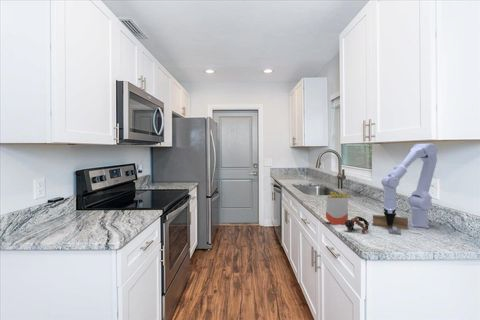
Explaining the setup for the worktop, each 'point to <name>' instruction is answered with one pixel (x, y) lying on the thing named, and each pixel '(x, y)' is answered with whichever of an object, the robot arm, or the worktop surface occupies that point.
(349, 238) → the worktop surface
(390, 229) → the fulcrum
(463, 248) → the worktop surface
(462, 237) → the worktop surface
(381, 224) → the batten
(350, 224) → the dark brown curved piece
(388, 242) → the worktop surface
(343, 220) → the french fries container
